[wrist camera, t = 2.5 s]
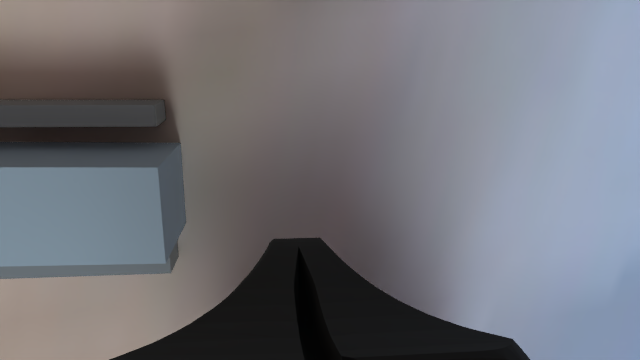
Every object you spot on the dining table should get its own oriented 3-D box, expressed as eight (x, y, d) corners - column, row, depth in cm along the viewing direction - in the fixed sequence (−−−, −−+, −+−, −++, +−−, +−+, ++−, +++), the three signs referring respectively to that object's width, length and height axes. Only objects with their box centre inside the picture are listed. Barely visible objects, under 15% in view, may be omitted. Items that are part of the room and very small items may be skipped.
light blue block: (181, 141, 19) (158, 167, 15) (186, 220, 20) (165, 263, 16) (-129, 139, 18) (-239, 166, 14) (-106, 223, 19) (-202, 270, 15)
